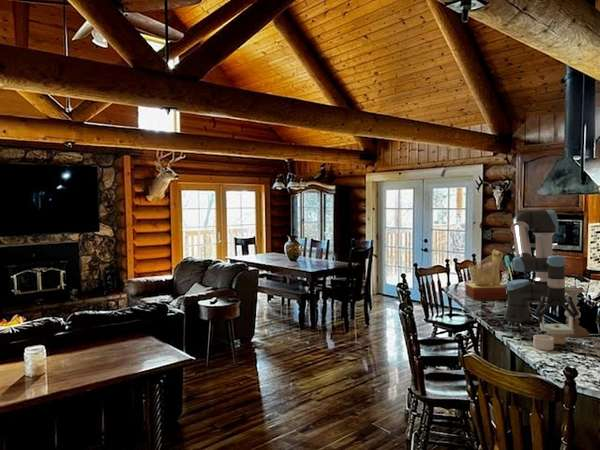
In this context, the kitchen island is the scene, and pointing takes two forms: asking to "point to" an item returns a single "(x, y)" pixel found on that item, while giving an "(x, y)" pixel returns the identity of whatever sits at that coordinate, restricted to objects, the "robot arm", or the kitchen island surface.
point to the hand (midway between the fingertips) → (556, 329)
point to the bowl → (543, 342)
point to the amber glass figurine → (486, 280)
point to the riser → (558, 338)
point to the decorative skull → (490, 269)
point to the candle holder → (577, 328)
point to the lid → (558, 329)
